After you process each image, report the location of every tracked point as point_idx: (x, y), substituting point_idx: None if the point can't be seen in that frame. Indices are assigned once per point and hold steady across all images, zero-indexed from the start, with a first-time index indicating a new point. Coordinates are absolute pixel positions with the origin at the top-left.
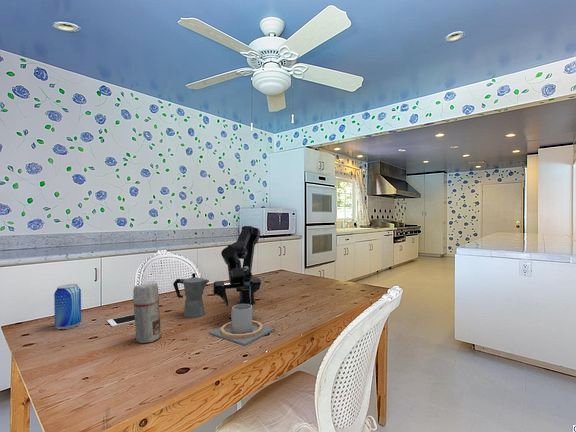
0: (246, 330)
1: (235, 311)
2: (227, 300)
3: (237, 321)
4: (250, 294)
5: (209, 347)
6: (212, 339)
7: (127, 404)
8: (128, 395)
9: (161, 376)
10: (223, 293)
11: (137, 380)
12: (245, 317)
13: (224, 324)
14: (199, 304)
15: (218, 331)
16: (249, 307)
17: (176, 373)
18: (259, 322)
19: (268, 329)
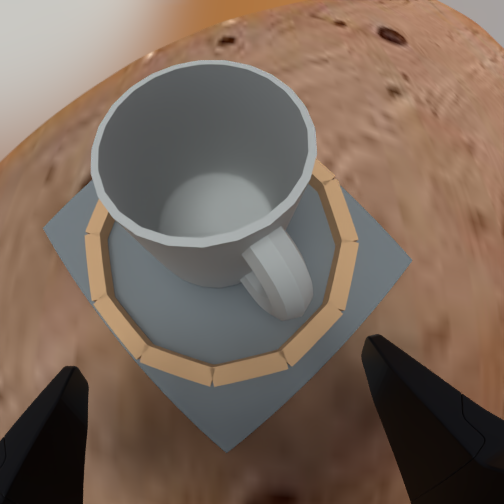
0: (194, 163)
1: (274, 91)
2: (400, 371)
3: (252, 131)
4: (39, 466)
5: (367, 114)
6: (375, 184)
7: (424, 7)
8: (438, 21)
9: (423, 37)
10: (497, 432)
11: (456, 48)
12: (190, 108)
13: (339, 313)
14: None
15: (363, 255)
16: (115, 204)
17: (399, 32)
18: (92, 293)
19: (71, 220)
